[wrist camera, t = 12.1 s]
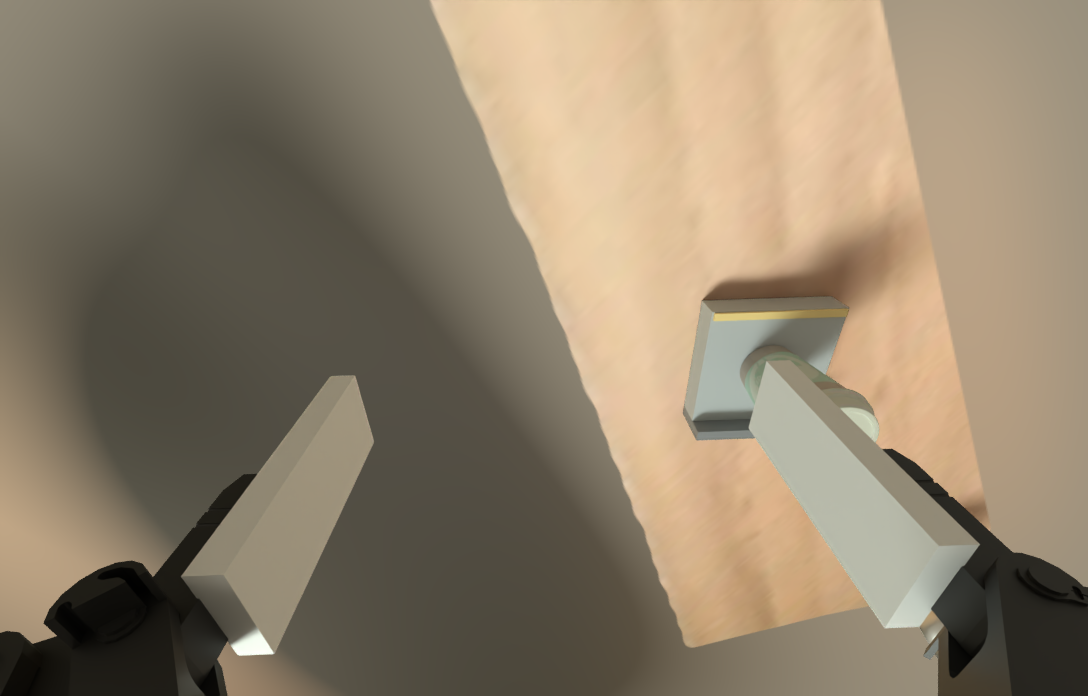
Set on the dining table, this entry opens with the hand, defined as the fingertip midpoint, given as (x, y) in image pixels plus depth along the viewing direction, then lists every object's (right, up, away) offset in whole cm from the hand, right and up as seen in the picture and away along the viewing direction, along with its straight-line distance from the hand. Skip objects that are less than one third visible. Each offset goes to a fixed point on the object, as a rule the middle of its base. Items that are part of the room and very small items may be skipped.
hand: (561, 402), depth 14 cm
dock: (+24, +1, +35) cm, 43 cm away
